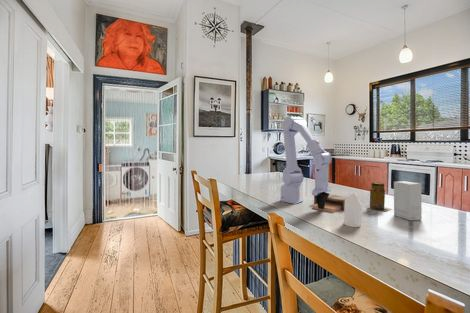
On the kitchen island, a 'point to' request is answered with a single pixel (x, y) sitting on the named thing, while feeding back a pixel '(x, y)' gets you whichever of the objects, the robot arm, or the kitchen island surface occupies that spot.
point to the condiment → (377, 197)
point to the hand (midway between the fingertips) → (321, 208)
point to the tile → (330, 206)
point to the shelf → (334, 199)
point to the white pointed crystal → (352, 211)
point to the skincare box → (407, 200)
